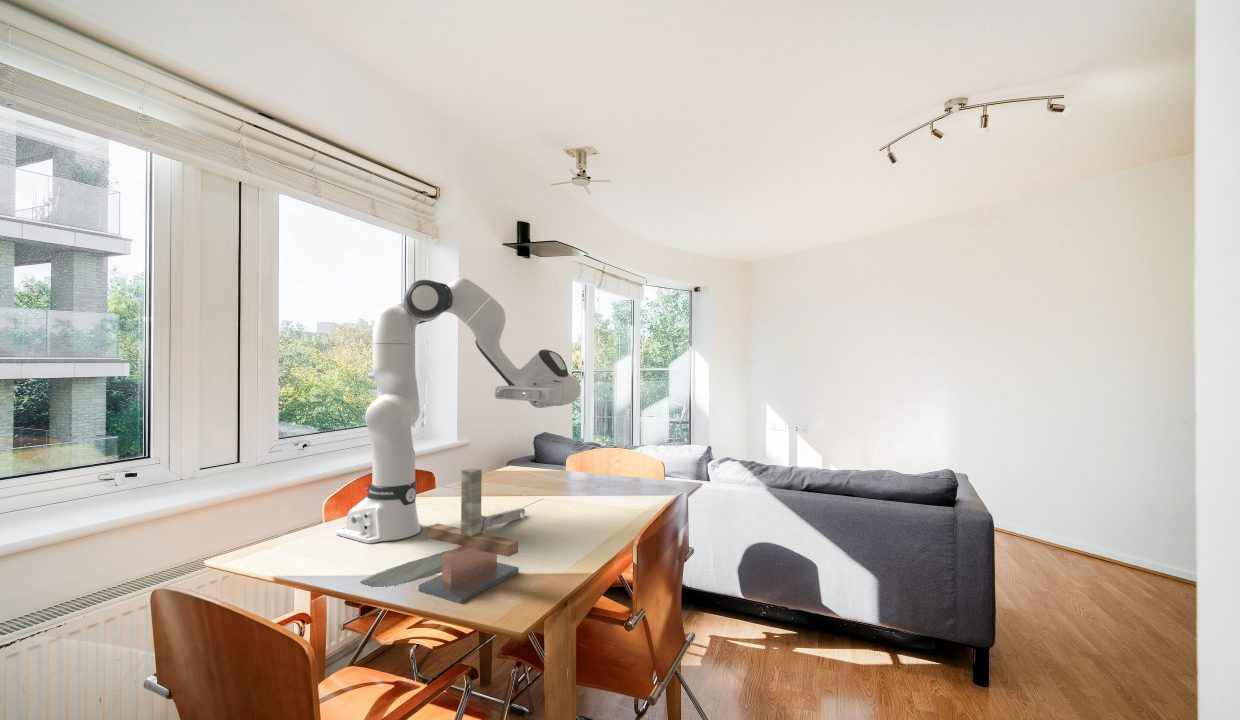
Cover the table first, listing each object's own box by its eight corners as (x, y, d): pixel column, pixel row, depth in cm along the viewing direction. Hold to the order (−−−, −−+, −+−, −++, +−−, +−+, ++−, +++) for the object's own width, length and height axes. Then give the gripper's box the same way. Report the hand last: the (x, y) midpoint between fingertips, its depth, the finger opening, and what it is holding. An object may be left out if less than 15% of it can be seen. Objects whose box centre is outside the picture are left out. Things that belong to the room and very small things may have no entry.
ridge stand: (418, 590, 113) (419, 552, 113) (479, 562, 129) (479, 529, 129) (460, 603, 108) (460, 563, 108) (518, 572, 123) (518, 537, 123)
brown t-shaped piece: (427, 537, 123) (427, 465, 123) (437, 534, 126) (437, 463, 126) (508, 556, 111) (509, 477, 111) (518, 552, 114) (518, 474, 114)
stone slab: (469, 569, 130) (445, 554, 136) (470, 558, 130) (445, 543, 136) (380, 602, 112) (356, 584, 118) (381, 590, 112) (357, 572, 118)
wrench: (524, 526, 168) (464, 545, 140) (519, 525, 168) (458, 544, 141) (526, 499, 169) (467, 513, 141) (521, 499, 169) (461, 512, 142)
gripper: (514, 380, 160) (480, 381, 148) (571, 382, 150) (540, 384, 138) (513, 401, 160) (480, 404, 148) (570, 405, 150) (540, 408, 138)
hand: (510, 394), depth 143 cm, fingers open, 8 cm apart
